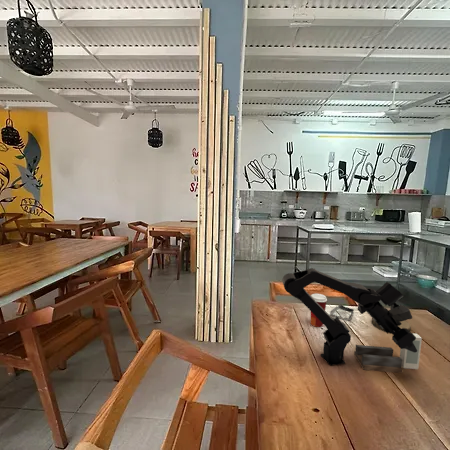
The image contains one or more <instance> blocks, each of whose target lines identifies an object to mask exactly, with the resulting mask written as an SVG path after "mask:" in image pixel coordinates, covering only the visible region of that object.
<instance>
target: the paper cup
mask: <svg viewBox="0 0 450 450" xmlns="http://www.w3.org/2000/svg"><path fill="white" fill-rule="evenodd" d="M310 296H311V297H312V298H313V299H314V300H315V301H316V302H317V303H318V304H319V305H320V306H321V307H322V308H323V309H324V310H325V311H326V307H327V301H328V299H327V296H326V295H324V294H323V293H322V294H321V293H312V294H310ZM310 325H312V327H315V328H316V327H318V328H321V327H323V326H324V324H323V323H322V322H321V321H320V320H319V319H318V318H317V317H316V316H315V315H314V314H313V313H312V312H311V311H310Z"/></svg>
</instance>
